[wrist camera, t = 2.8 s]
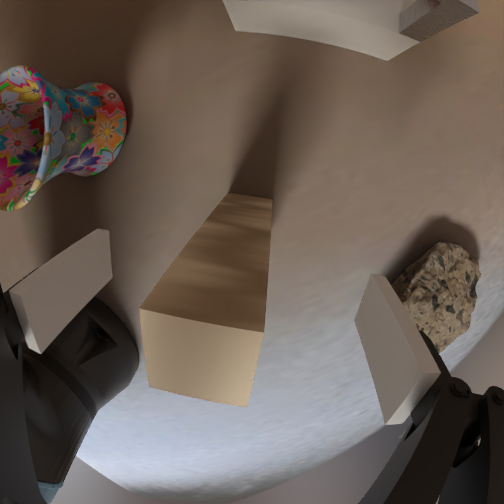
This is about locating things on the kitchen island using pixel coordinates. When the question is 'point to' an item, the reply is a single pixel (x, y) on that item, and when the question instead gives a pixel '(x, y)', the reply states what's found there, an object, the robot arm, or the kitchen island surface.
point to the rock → (440, 292)
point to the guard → (434, 16)
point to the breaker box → (328, 22)
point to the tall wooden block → (212, 306)
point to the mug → (53, 132)
